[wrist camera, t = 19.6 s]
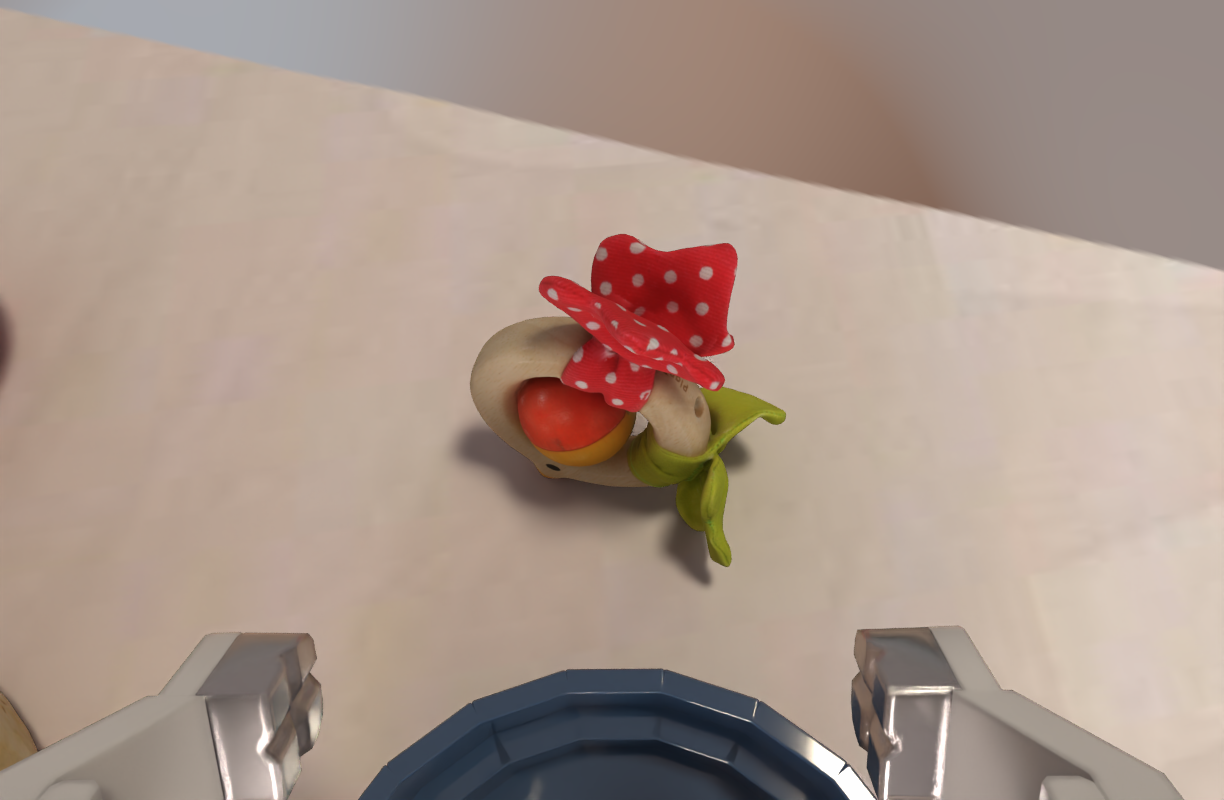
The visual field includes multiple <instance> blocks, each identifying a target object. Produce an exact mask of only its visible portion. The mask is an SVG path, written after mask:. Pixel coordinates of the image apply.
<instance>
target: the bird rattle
mask: <svg viewBox="0 0 1224 800" xmlns="http://www.w3.org/2000/svg"><path fill="white" fill-rule="evenodd" d="M737 260H738V258H737V253H736V250H735V248H734V247H733V246H732V245H731V244H728V243H722V244H716V245H705V246H699V247H693V248H685V249H680V250H675V251H670V252H663V251H658V250H655V249H652V248H650V247H648V246H647V245H645V244H644V243H643V242H642V241H640V240H639V239H636V238H635V237H633V236H630V235H627V234H619V235H614V236H611V237H608V238H606V239H604V240H603V241H602V242H601V243H600V245H599V248H598V250H597V252H596V254H595V256H594V260H593V265H592V273H591V290H592V292H590V291H588V290H587V289H585V288H583V287H582V286H580V285H579V284H577V283H575V282H573V281H571V280H568V279H565V278H562V277H559V276H547V277H545V278H543V280H542V281H541V282H540V285H539V292H540V294H541V295H542V296H543V297H544V298H545V299H547V300H548V301H549V302H550V303H552V304H553V305H555V306H556V307H557V308H559V309H561V310H562V311H564V312H565V313H567V314H568V315H569V316H570V317H542V318H535V319H529V320H525V321H522V322H519V323H516V324H513V325H510V326H508V327H506V328H504V329H502V330H501V331H499V332H497V333H496V334H495V335H493V336H492V337H491V338H490V339H489V340H488V341H487V342H486V343H485V345H484V346H483V348H482V350H481V351H480V353H479V355H478V357H477V359H476V362H475V364H474V367H473V370H472V373H471V380H470V390H471V395H472V398H473V401H474V403H475V406H476V408H477V410H478V411H479V413H480V415H481V416H482V418H483V419H484V421H485V422H486V423H487V425H488V426H489V427H490V428H491V429H492V430H493V431H494V432H495V433H496V434H497V435H498V436H499V437H500V438H501V439H502V440H503V441H505V442H506V443H507V444H508V445H509V446H511V447H512V448H513V449H515V450H516V451H518V452H519V453H521V454H522V455H524V456H525V457H527V458H528V459H530V460H531V461H532V462H533V463H534V464H535V466H536V468H537V469H538V471H539V472H540V473H541V475H543V476H544V477H547V478H571V479H575V480H580V481H584V482H588V483H593V484H598V485H606V486H616V487H646V486H653V487H659V488H661V487H666V486H669V485H670V484H677V483H678V486H677V493H676V507H677V509H678V512H679V514H680V516H681V517H682V519H683V520H684V521H685V522H686V523H687V524H688V525H689V526H690V527H691V528H692V529H694V530H696V531H705V534H706V539H707V544H708V549H709V554H710V557H711V559H712V560H713V561H714V562H716V563H719V564H721V565H723V566H725V567H729V565H730V563H731V560H732V558H731V551H730V547H729V545H728V543H727V541H726V539H725V535H724V532H723V513H724V508H725V502H726V497H727V492H728V476H727V472H726V469H725V466H724V463H723V461H722V459H721V458H720V457H719V455H718V454H719V453H721V452H722V451H723V450H724V449H725V447H726V445H727V443H728V442H729V441H730V440H731V439H732V438H733V437H734V436H735V435H736V434H738V433H739V432H740V431H742V430H743V429H744V428H746V427H747V426H748V425H749V424H751V423H752V422H753V421H754V420H756V419H757V418H759V417H761V418H763V419H764V420H766V421H767V422H769V423H771V424H774V425H778V424H781V423H782V422H784V421H785V418H786V413H785V412H784V411H783V410H781V409H779V408H777V407H776V406H774V405H772V404H770V403H768V402H765V401H763V400H761V399H759V398H757V397H755V396H752V395H749V394H746V393H743V392H738V391H736V390H733V389H729V388H725V387H722V386H723V384H724V382H725V378H724V376H723V374H722V373H721V372H720V371H719V369H718V368H717V367H716V366H715V365H713V364H712V363H711V362H709V361H708V360H706V359H704V358H702V357H706V356H713V355H717V354H721V353H724V352H727V351H729V350H731V349H732V348H733V347H734V345H735V344H734V339H733V336H732V335H730V334H729V333H728V331H727V314H728V308H729V303H730V297H731V293H732V288H733V285H734V280H735V276H736V271H737ZM697 384H699V385H701V386H702V387H703V388H699V386H698V385H697ZM637 412H640V413H641V414H642V415H643V416H644V417H645V418H646V419H647V420H648V421H649V422H648V425H647V428H646V429H645V430H644V431H643V432H642V433H640V434H638V435H637V436H630V435H631V433H632V430H633V427H634V424H635V420H636V413H637Z"/></svg>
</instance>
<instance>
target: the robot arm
mask: <svg viewBox="0 0 1224 800" xmlns="http://www.w3.org/2000/svg"><path fill="white" fill-rule="evenodd" d="M854 656H855V659H856V662H857V664H858V667H859V670H860V672H859V673H858V674H857V675H856V676H855V678H854V679H853V680H852V692H851V705H852V720H853V724H854V729H855V734H856V737H857V740H858V743H859V746H860V747H862V748H863V749H864V750H866V751H867V752H868V756H867V770H868V773H869V775H870V778H871V781H872V784H873V787H874V790H875V793H876V795H877V798H878V800H1184V799H1183V797H1182V796H1181V795H1180V794H1179V792H1178V791H1177V790H1176V788H1175V787H1174V786H1173V784H1172V783H1171V782H1170V780H1169V779H1168V778H1167V777H1166V775H1165V774H1164V773H1162V772H1160V771H1159V770H1157V769H1155V768H1153V767H1151V766H1150V765H1148V764H1146V763H1144V762H1142V761H1140V760H1139V759H1137V758H1135V757H1133V756H1131V755H1130V754H1128V753H1126V752H1124V751H1122V750H1120V749H1119V748H1117V747H1115V746H1113V745H1111V744H1110V743H1108V742H1106V741H1104V740H1102V739H1101V738H1099V737H1097V736H1095V735H1093V734H1091V733H1090V732H1088V731H1086V730H1084V729H1082V728H1081V727H1079V726H1077V725H1075V724H1073V723H1071V722H1070V721H1068V720H1066V719H1064V718H1062V717H1061V716H1059V715H1057V714H1055V713H1053V712H1052V711H1050V710H1048V709H1046V708H1044V707H1042V706H1041V705H1039V704H1037V703H1035V702H1033V701H1032V700H1030V699H1028V698H1026V697H1024V696H1022V695H1021V694H1019V693H1017V692H1015V691H1013V690H1002V689H1001V687H1000V685H999V684H998V682H997V680H996V679H995V677H994V676H993V674H992V672H991V671H990V669H989V668H988V666H987V664H986V663H985V661H984V660H983V658H982V656H981V655H980V653H979V652H978V650H977V648H976V647H975V645H974V643H973V642H972V640H971V639H970V637H969V635H968V634H967V632H966V631H965V629H964V628H962V627H961V626H938V627H920V628H890V629H861V630H857V633H856V637H855V645H854ZM316 659H317V656H316V651H315V645H314V640H313V638H312V637H311V636H310V635H309V634H308V633H241V632H229V633H211V634H207V635H205V636H204V637H203V638H202V640H201V641H200V642H199V643H198V645H197V646H196V647H195V649H194V650H193V651H192V652H191V654H190V655H189V656H188V657H187V659H186V660H185V661H184V663H183V664H182V665H181V666H180V668H179V669H178V670H177V671H176V673H175V674H174V675H173V676H172V678H171V679H170V680H169V682H168V683H167V684H166V685H165V687H164V688H163V689H162V690H161V692H160V693H159V694H158V695H157V696H146V697H144V698H142V699H140V700H138V701H136V702H134V703H132V704H130V705H129V706H127V707H125V708H123V709H121V710H119V711H117V712H115V713H113V714H111V715H109V716H107V717H105V718H103V719H101V720H99V721H97V722H95V723H93V724H91V725H89V726H87V727H85V728H84V729H82V730H80V731H78V732H76V733H74V734H72V735H70V736H68V737H66V738H64V739H62V740H60V741H58V742H56V743H54V744H52V745H50V746H48V747H46V748H44V749H42V750H41V751H39V752H37V753H35V754H33V755H31V756H29V757H27V758H25V759H23V760H21V761H19V762H17V763H15V764H13V765H11V766H9V767H7V768H5V769H3V770H1V771H0V800H287V799H288V797H289V795H290V793H291V791H292V789H293V787H294V785H295V783H296V781H297V779H298V777H299V775H300V773H301V771H302V768H301V762H300V757H301V756H302V755H304V754H305V753H306V752H308V751H309V750H311V749H312V748H313V746H314V743H315V741H316V739H317V737H318V735H319V730H320V725H321V720H322V715H323V697H322V690H321V684H320V683H319V682H318V681H317V680H316V679H315V678H314V677H313V676H312V674H311V673H310V671H311V669H312V667H313V665H314V663H315V661H316Z"/></svg>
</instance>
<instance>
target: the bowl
mask: <svg viewBox="0 0 1224 800" xmlns="http://www.w3.org/2000/svg"><path fill="white" fill-rule="evenodd" d="M358 800H878V799H877V798H876V797H875V796H874V794H873V793H872V792H871V791H870V789H869V788H868V787H867V786H866V784H865V783H864V782H863V780H862V779H861V778H860V777H859V775H858V774H857V773H856V772H855V770H854V769H853V768H852V767H851V765H849V764H847V762H846V761H845V760H844V759H843V758H841V757H840V756H838V755H837V754H836V753H834V752H833V751H831V750H830V749H829V748H827V747H826V746H824V745H823V744H822V743H820V742H819V741H817V740H816V739H815V738H813V737H812V736H810V735H809V734H808V733H806V732H805V731H803V730H802V729H800V728H799V727H798V726H796V725H795V724H793V723H792V722H791V721H789V720H788V719H786V718H785V717H784V716H782V715H781V714H779V713H778V712H777V711H775V710H774V709H772V708H771V707H770V706H768V705H767V704H765V703H764V702H762V701H760V702H759V700H758V699H756V698H753V697H750V696H747V695H744V694H741V693H738V692H734V691H731V690H728V689H725V688H722V687H719V686H716V685H713V684H710V683H707V682H704V681H700V680H697V679H694V678H691V677H688V676H685V675H682V674H679V673H676V672H673V671H669V670H663V669H568V670H566V671H565V670H563V671H560V672H557V673H554V674H551V675H548V676H545V677H542V678H539V679H536V680H533V681H530V682H527V683H524V684H521V685H518V686H515V687H512V688H509V689H506V690H504V691H501V692H498V693H495V694H492V695H489V696H486V697H483V698H480V699H477V700H474V701H473V702H472V703H468V704H467V705H466V706H464V707H463V708H462V709H460V710H459V711H457V712H456V713H455V714H453V715H452V716H451V717H449V718H448V719H447V720H445V721H444V722H442V723H441V724H440V725H438V726H437V727H436V728H434V729H433V730H432V731H430V732H429V733H427V734H426V735H425V736H423V737H422V738H421V739H419V740H418V741H416V742H415V743H414V744H412V745H411V746H410V747H408V748H407V749H406V750H404V751H403V752H401V753H400V754H399V755H397V756H396V757H395V758H393V759H392V760H391V761H389V762H388V763H387V765H385V766H383V768H382V769H381V770H380V772H379V773H378V774H377V776H376V777H375V778H374V779H373V781H372V782H371V783H370V785H369V786H368V787H367V789H366V790H365V791H364V792H363V794H362V795H361V796H360V798H359V799H358Z"/></svg>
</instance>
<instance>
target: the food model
mask: <svg viewBox="0 0 1224 800" xmlns="http://www.w3.org/2000/svg"><path fill="white" fill-rule="evenodd" d="M37 752H38V751H37V749H36V747H35V744H34V742H33V740H32V738H31V735H30V733H29V731H28V729H27V728H26V727H25V725H24V724H23V722H22V721H21V719H20V718H19V716H18V715H17V713H16V712H15V710H14V709H13V707H12V706H11V704H10V703H9V701H8V700H7V698H6V697H5V696H4V695H3V694H2V693H1V692H0V771H1V770H3V769H5V768H7V767H9V766H11V765H13V764H15V763H17V762H19V761H21V760H23V759H25V758H27V757H29V756H31V755H33V754H35V753H37Z"/></svg>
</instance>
